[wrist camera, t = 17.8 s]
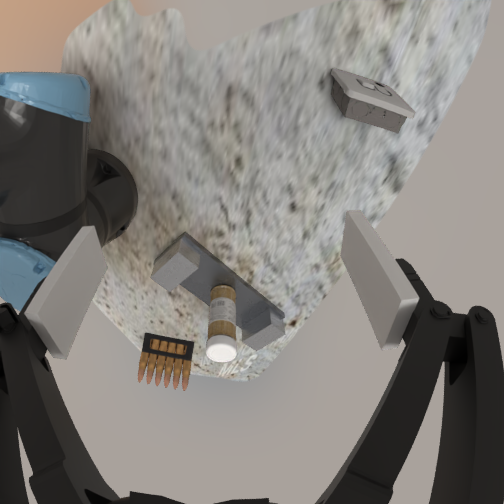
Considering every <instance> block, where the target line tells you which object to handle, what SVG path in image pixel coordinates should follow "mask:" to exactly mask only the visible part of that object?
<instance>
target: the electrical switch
mask: <svg viewBox="0 0 504 504" xmlns="http://www.w3.org/2000/svg"><path fill="white" fill-rule="evenodd" d="M331 75H332V76H333V77H334V78H335V80H334V85H333V89H332V92H331V95H332V96H333V98H334V100H335V101H336V103H337V105H338V106H339V108H340V110H341V112H342V113H343V115H345V117H347V118H351V119H354V120H358V121H361V122H365V123H368V124H371V125H374V126H377V127H381V128H384V129H387V130H390V131H393V132H396V133H399V131H400V128H401V126H402V125H403V124H404V122H405V120H406V118H407V117H409V118H411V119H412V118H414V115H415V111H414V110H413V109H412V108H411V107H410V106H409V105H408V104H407V103H406V102H405V101H404V100H403V99H402V98H401V97H400V96H399V95H398V94H397V93H396V92H395V91H394V90H393V89H392V88H390V87H389V86H387V85H384V84H381V83H379V82H376V81H373V80H370V79H367V78H364V77H361V76H358V75H355V74H352V73H349V72H346V71H342V70H339V69H335V68H333V69H332V71H331ZM345 113H346V114H345ZM366 114H367V115H366ZM383 115H384V116H385V117H384V118H383ZM356 116H357V117H358V118H357V117H356Z"/></svg>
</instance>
